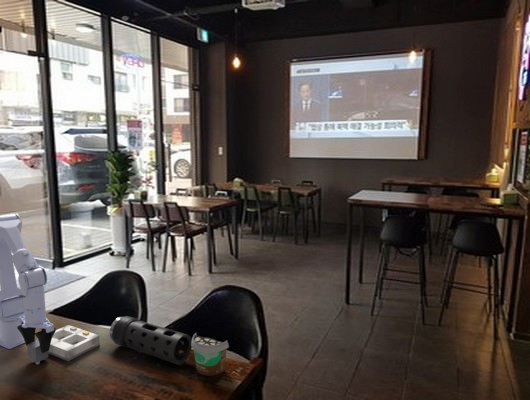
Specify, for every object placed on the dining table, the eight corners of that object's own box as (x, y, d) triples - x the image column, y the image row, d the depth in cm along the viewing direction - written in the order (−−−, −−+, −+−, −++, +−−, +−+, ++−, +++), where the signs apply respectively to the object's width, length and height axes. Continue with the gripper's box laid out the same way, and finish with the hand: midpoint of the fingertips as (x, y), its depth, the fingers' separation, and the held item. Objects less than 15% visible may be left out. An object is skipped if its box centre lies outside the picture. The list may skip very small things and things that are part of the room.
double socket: (36, 348, 137) (36, 337, 137) (69, 334, 148) (68, 323, 147) (68, 361, 130) (67, 349, 129) (99, 345, 140) (99, 333, 140)
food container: (183, 371, 125) (182, 340, 123) (195, 361, 130) (194, 332, 129) (218, 382, 120) (217, 349, 118) (228, 371, 125) (228, 340, 124)
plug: (28, 362, 129) (27, 344, 128) (40, 356, 132) (39, 339, 131) (36, 365, 127) (35, 347, 126) (48, 360, 130) (47, 342, 129)
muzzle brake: (172, 373, 124) (172, 341, 122) (108, 350, 137) (106, 320, 136) (192, 359, 132) (192, 329, 131) (130, 338, 145) (128, 310, 144)
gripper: (7, 306, 127) (11, 348, 129) (36, 316, 120) (39, 360, 122) (30, 299, 133) (33, 338, 135) (58, 308, 126) (61, 349, 128)
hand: (37, 348), depth 129 cm, fingers open, 7 cm apart
